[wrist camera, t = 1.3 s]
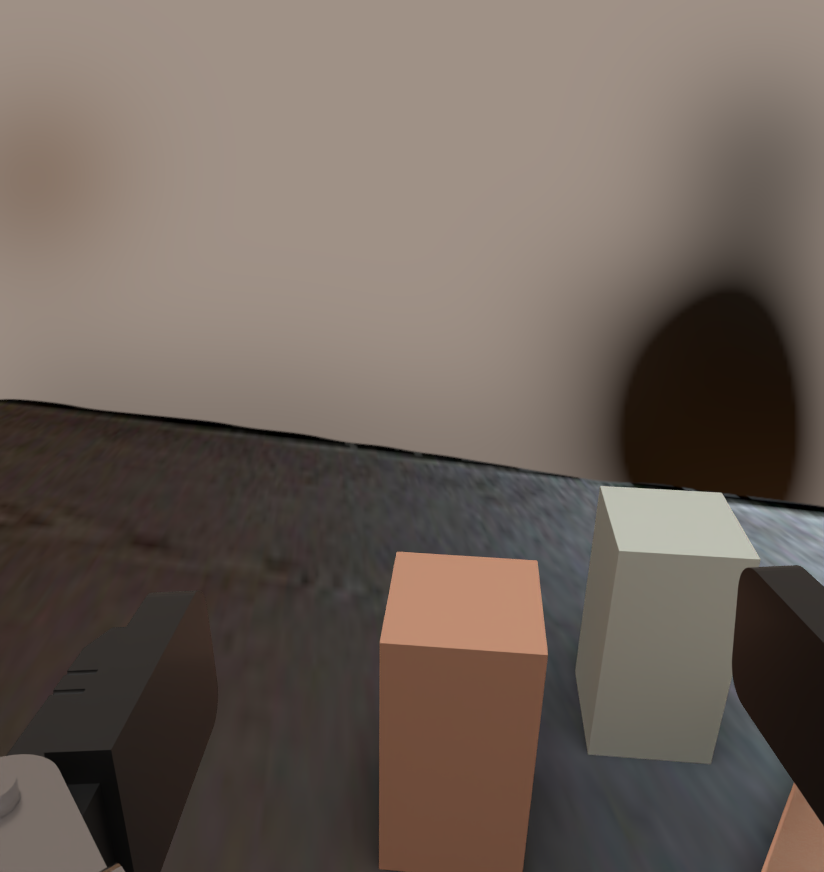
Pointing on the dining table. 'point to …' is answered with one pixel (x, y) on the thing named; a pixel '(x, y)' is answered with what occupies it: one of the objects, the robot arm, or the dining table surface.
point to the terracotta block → (459, 712)
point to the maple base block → (797, 839)
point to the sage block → (659, 623)
